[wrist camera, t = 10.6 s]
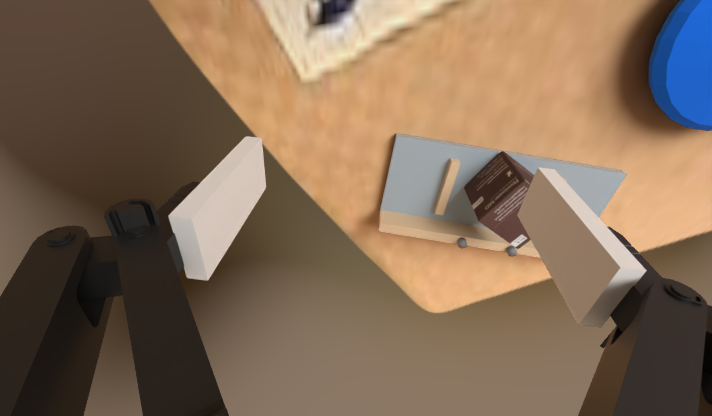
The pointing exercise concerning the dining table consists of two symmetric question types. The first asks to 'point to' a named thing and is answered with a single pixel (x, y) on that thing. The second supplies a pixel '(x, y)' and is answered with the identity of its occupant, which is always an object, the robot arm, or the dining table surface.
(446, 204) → the board
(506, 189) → the box
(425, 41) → the dining table surface
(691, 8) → the blue knobbed lid
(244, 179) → the robot arm
